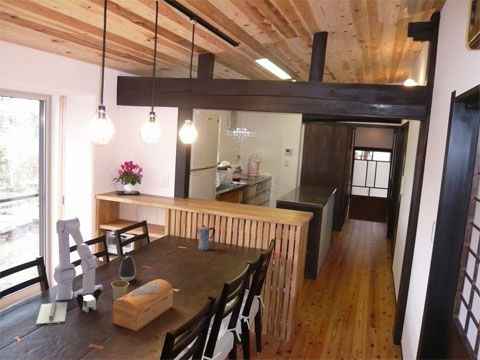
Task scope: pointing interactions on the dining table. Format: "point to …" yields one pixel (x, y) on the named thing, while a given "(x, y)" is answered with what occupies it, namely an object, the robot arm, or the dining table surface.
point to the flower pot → (119, 289)
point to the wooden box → (143, 304)
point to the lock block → (89, 303)
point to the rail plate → (56, 316)
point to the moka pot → (204, 237)
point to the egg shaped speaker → (127, 269)
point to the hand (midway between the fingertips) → (88, 306)
